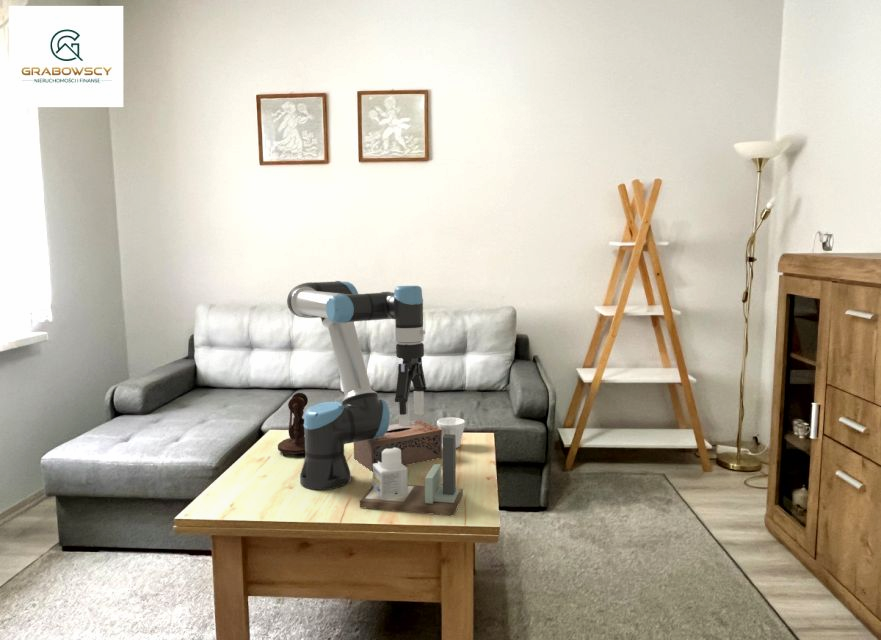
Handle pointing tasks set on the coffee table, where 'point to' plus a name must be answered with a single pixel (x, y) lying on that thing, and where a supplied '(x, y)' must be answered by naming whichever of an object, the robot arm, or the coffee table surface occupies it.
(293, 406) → the dark brown upright piece
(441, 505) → the brown wooden base tray
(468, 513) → the coffee table surface
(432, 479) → the slider
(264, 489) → the coffee table surface
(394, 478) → the container
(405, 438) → the tissue box cover
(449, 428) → the cup
